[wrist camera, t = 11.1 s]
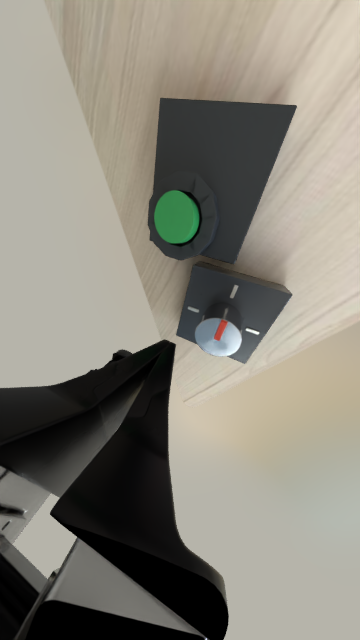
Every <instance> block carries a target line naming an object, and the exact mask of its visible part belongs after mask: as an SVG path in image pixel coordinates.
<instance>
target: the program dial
mask: <svg viewBox="0 0 360 640" xmlns="http://www.w3.org/2000/svg"><path fill="white" fill-rule="evenodd" d="M195 339H196V342H197V344H198V345H199V347H200V348H201V349H202V350H204V351H205V352H207V353H208V354H211V355H214V356H228V355H231V354H233V353H235V352H236V351H237V350H238V349H239V347H240V345H241V342H242V317H241V314H240V312H239V310H238V309H237V308H236V307H234V306H233V305H231V304H228V303H223V302H220V303H215V304H212V305H211V306H209V307H208V308H207V309H206V311H205V312H204V314H203V316H202V318H201V320H200V322H199V324H198V326H197V328H196V330H195Z"/></svg>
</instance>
